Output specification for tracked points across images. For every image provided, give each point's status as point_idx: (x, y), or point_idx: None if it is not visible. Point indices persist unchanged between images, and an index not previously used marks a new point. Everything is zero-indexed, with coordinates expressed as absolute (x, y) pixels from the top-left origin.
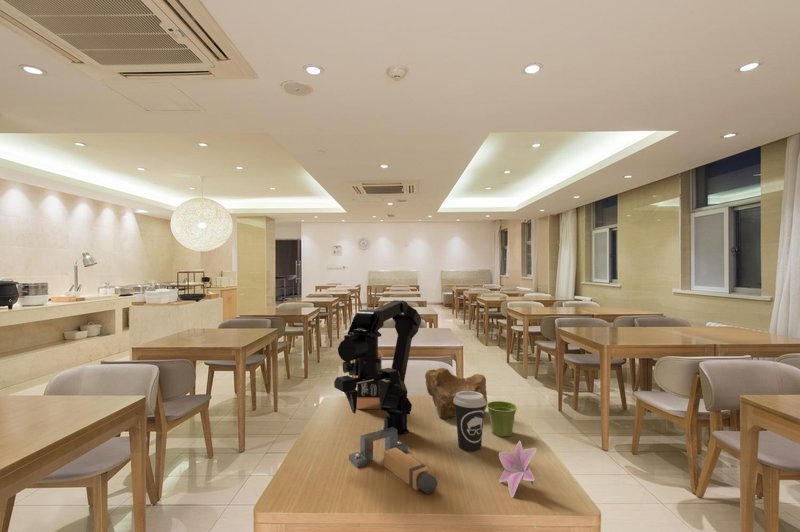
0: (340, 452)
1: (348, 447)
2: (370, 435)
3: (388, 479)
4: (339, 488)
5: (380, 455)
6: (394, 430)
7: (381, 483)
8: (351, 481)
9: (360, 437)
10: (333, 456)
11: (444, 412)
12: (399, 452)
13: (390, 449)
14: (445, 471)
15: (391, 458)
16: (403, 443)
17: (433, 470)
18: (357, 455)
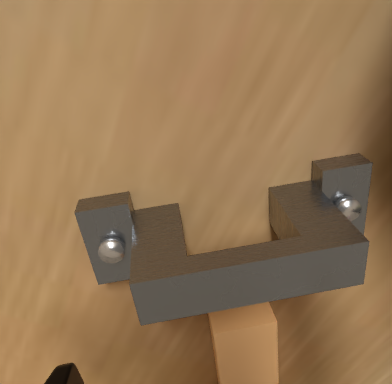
0: (49, 105)
1: (109, 62)
2: (189, 298)
3: (178, 356)
4: (6, 357)
5: (230, 214)
6: (345, 284)
7: (148, 367)
8: (55, 336)
9: (130, 279)
10: (3, 135)
11: None
12: (263, 358)
13: (245, 330)
14: (352, 364)
15: (217, 364)
16: (365, 207)
17: (328, 352)
18: (106, 260)
